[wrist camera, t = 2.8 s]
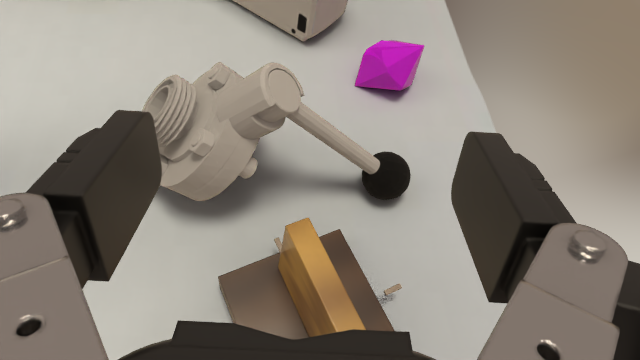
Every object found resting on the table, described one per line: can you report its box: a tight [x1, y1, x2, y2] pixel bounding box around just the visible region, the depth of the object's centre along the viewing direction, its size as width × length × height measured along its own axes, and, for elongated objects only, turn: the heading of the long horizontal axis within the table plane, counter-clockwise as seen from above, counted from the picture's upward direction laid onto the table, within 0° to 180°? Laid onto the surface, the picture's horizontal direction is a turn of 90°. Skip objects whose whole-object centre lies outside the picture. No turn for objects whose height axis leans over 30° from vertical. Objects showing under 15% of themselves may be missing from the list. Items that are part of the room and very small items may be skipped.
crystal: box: [355, 40, 424, 90], centre depth 45 cm, size 5×5×5 cm
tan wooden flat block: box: [278, 218, 366, 337], centre depth 28 cm, size 10×2×7 cm, turn 26°
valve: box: [142, 62, 410, 201], centre depth 37 cm, size 10×20×15 cm
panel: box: [218, 229, 402, 339], centre depth 32 cm, size 14×14×2 cm
